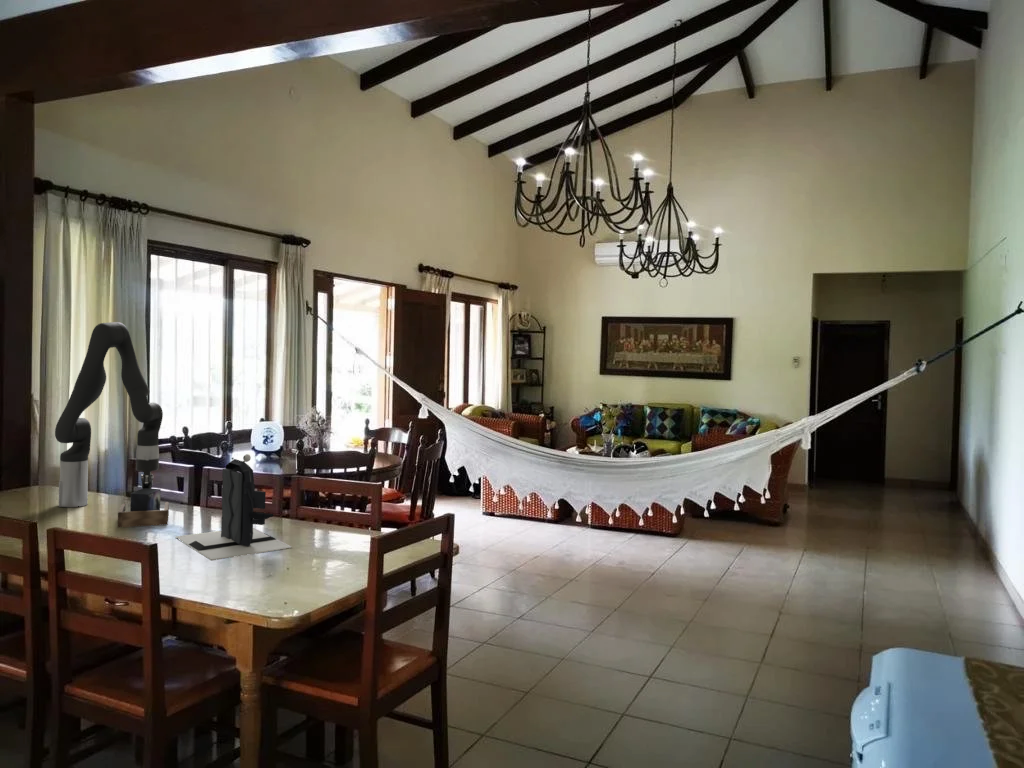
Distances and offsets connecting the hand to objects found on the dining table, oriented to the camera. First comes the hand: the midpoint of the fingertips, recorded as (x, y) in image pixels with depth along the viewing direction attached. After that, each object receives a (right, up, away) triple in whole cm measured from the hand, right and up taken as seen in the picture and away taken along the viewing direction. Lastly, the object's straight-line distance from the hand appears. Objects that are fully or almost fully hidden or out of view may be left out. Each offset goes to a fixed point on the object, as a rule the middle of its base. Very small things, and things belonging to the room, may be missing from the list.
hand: (146, 503), depth 280 cm
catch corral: (+5, -4, -11) cm, 13 cm away
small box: (+4, -4, -9) cm, 11 cm away
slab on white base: (+45, -7, -36) cm, 58 cm away
